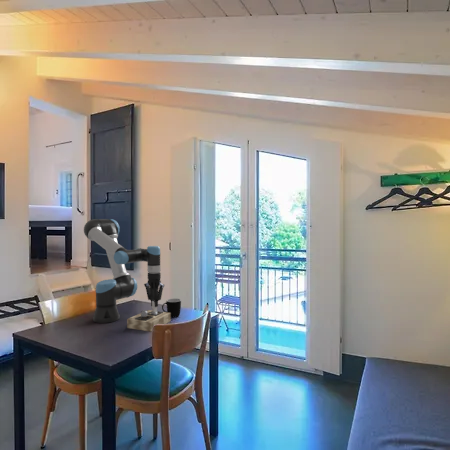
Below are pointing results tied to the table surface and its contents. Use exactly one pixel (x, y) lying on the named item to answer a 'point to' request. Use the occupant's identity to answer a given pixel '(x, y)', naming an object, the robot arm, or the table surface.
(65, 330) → the table surface
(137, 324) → the socket block
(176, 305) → the mug
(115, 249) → the robot arm
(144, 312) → the peg near
